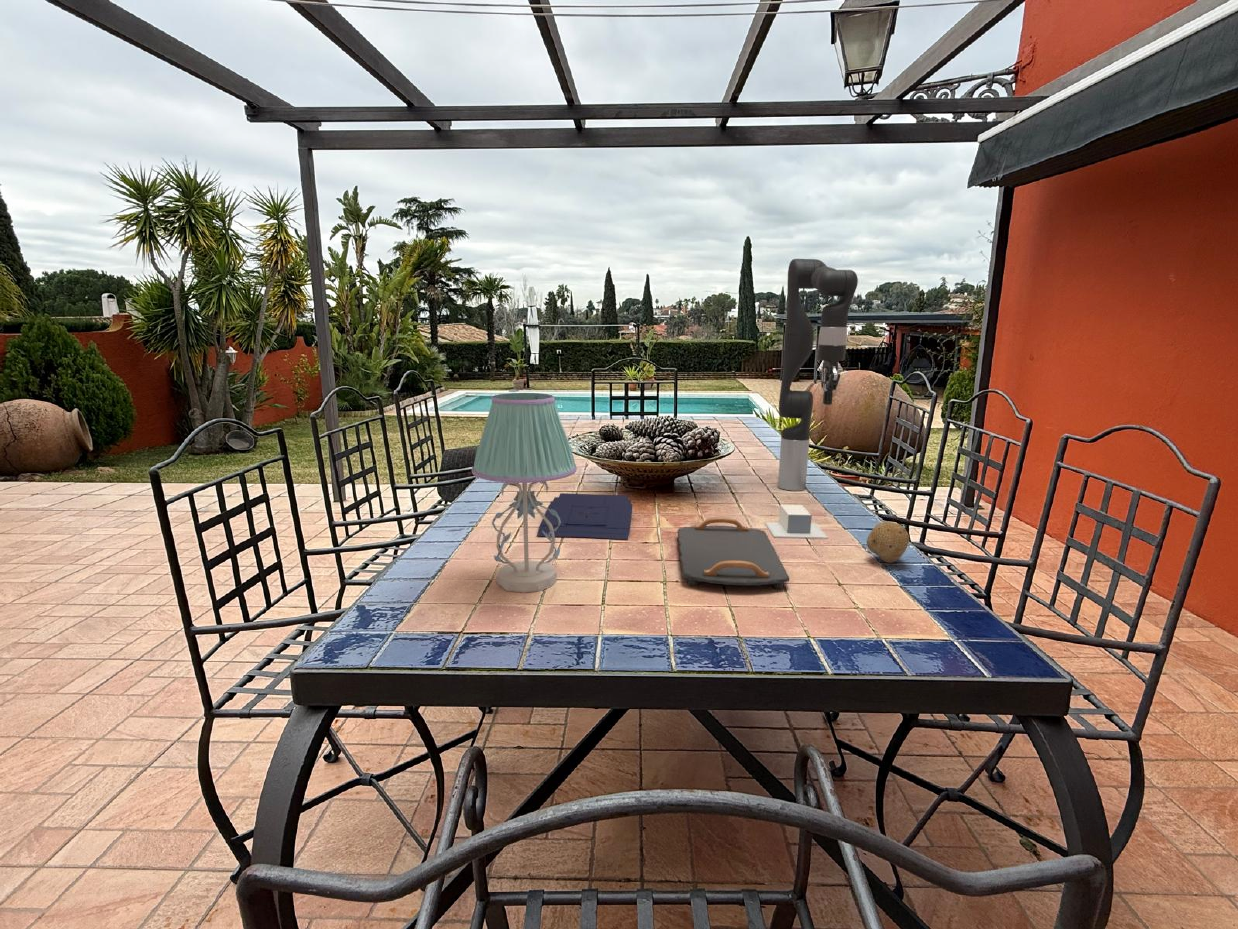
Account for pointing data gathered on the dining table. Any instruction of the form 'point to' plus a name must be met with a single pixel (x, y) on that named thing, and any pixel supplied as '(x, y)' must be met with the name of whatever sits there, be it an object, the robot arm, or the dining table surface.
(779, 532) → the mat
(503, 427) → the table lamp
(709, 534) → the serving board
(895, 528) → the potato
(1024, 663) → the dining table surface
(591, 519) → the dark blue flat slab
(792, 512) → the block
